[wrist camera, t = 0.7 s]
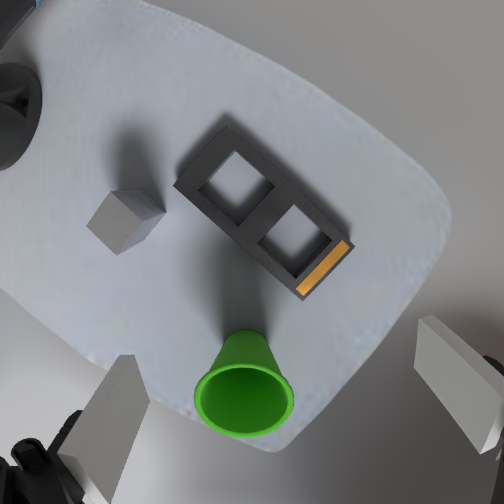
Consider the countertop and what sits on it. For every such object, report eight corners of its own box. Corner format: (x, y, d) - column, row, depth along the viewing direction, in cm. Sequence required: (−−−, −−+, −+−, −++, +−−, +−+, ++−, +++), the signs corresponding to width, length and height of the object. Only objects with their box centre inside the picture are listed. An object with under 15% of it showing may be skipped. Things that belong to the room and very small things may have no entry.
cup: (209, 309, 37) (193, 358, 26) (289, 316, 37) (302, 367, 26) (206, 374, 38) (193, 433, 28) (279, 380, 39) (286, 440, 28)
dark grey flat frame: (177, 185, 34) (172, 185, 32) (227, 128, 32) (225, 125, 30) (300, 294, 36) (302, 301, 34) (349, 242, 35) (355, 246, 33)
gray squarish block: (119, 216, 34) (86, 226, 27) (140, 188, 34) (110, 191, 26) (144, 239, 35) (116, 255, 27) (166, 212, 34) (142, 221, 27)
